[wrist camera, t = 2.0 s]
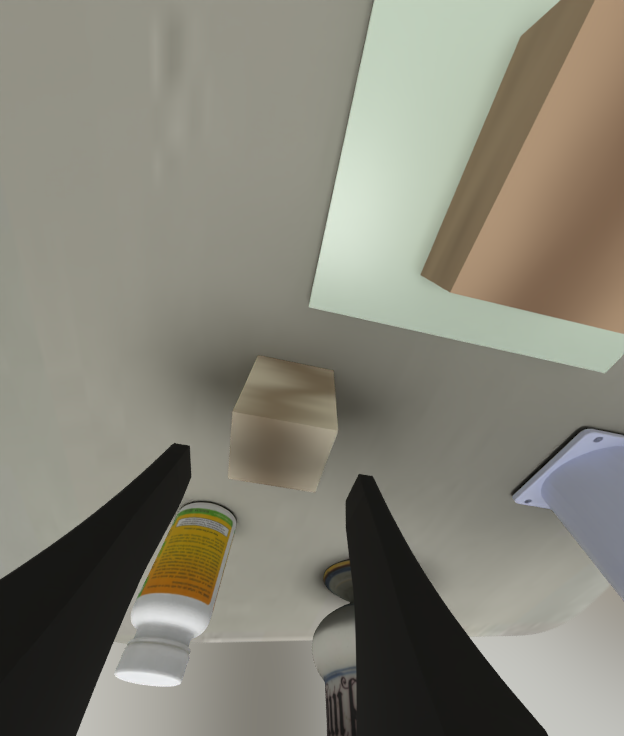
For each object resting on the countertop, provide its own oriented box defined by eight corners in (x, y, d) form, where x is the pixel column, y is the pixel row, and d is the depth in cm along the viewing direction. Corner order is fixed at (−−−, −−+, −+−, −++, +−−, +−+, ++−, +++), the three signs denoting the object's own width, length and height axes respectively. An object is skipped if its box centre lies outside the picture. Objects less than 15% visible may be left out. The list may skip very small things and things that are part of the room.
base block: (718, 102, 8) (900, 50, 6) (562, 309, 12) (630, 335, 9) (520, 36, 8) (623, -57, 5) (420, 274, 11) (450, 292, 9)
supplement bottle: (171, 499, 22) (82, 667, 14) (231, 500, 22) (177, 671, 14) (188, 531, 25) (122, 687, 17) (241, 532, 25) (201, 691, 17)
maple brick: (333, 369, 15) (338, 430, 11) (316, 424, 17) (315, 492, 13) (258, 354, 15) (232, 411, 10) (251, 412, 17) (227, 478, 13)
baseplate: (874, 47, 8) (940, 27, 7) (588, 363, 14) (605, 373, 13) (401, -132, 7) (413, -183, 6) (309, 301, 13) (308, 307, 12)
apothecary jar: (441, 565, 27) (600, 1027, 12) (388, 604, 33) (446, 943, 18) (336, 543, 25) (360, 1050, 10) (300, 588, 31) (279, 948, 16)
